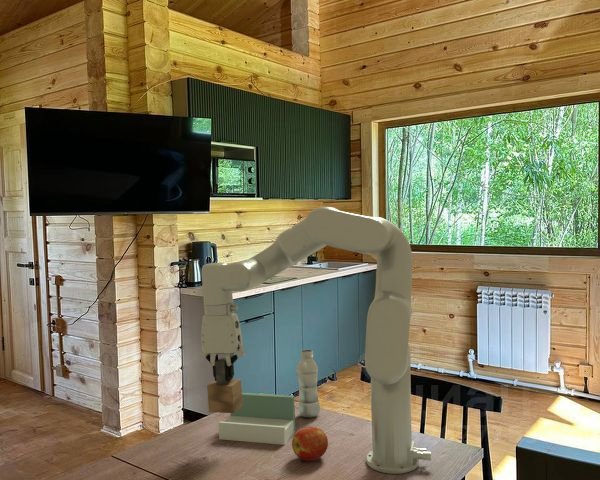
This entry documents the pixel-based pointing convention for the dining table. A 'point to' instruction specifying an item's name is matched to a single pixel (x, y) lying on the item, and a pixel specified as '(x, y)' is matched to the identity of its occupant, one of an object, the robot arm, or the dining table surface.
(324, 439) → the apple
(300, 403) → the plastic bottle
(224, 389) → the tan grey tall block
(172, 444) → the dining table surface
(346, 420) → the dining table surface
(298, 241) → the robot arm
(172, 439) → the dining table surface
